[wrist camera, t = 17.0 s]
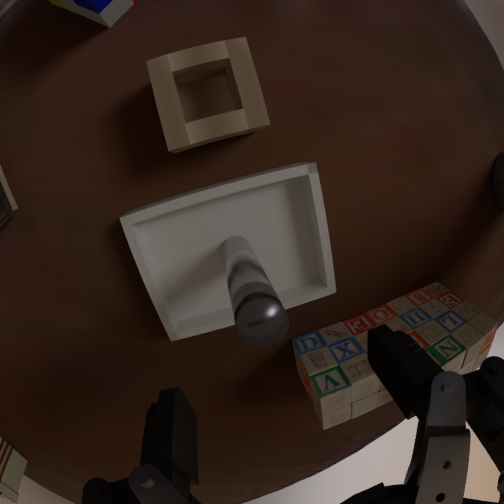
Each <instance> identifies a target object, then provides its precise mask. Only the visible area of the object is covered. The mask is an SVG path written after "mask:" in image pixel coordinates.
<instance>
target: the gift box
mask: <svg viewBox="0 0 504 504" xmlns="http://www.w3.org/2000/svg"><path fill="white" fill-rule="evenodd" d="M27 462H28V461H27V460H26V459H25V458H24V457H23V456H22V455H20V454H19V453H18V452H17V451H16V450H15V449H14V448H13V447H11V446H10V445H9V444H8V443H7V442H6V441H5V440H4V439H3V438H2V437H1V436H0V496H2V497H4V498H6V499H8V500H10V501H12V502H15V503H16V502H17V499H18V496H19V494H18V489H19V486H20V483H21V479H22V477H23V474H24V471H25V468H26V465H27Z"/></svg>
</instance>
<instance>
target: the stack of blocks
mask: <svg viewBox="0 0 504 504" xmlns="http://www.w3.org/2000/svg"><path fill="white" fill-rule="evenodd" d="M382 324H386V325H387V326H388V327H389V328H390V329H391V330H392V331H393V332H395V331H397V330H400V331H402V332H404V333H407V334H409V335H410V336H411V337H412V338H413V339H414V340H415V341H416V343H418V344H419V345H420V346H421V347H422V349H424V350H425V351H426V352H427V353H428V355H429V356H430V357H431V358H432V359H433V360H434V361H435V362H436V363H437V364H438V365H439V366H440V367H441V368H442V369H443V370H444V371H453V372H457V373H458V374H460V375H463V374H466V373H469V372H472V371H475V370H476V369H477V368H479V367H480V366H481V364H482V362H483V361H484V360H485V359H486V358H487V355H488V352H489V350H490V348H491V344H492V342H493V339H494V336H495V333H496V329H497V326H498V323H497V322H496V321H495V320H493V319H492V318H490V317H489V316H487V315H486V314H484V313H483V312H482V311H481V310H479V309H478V308H476V307H475V306H473V305H472V304H471V303H469V302H467V301H465V300H464V299H462V298H461V297H459V296H457V295H456V294H454V293H453V292H451V291H450V290H449V289H447V288H446V287H444V286H443V285H441V284H439V283H438V282H434V283H432V284H430V285H428V286H425V287H423V288H420V289H418V290H415V291H413V292H411V293H409V294H406V295H404V296H402V297H399V298H397V299H395V300H392V301H390V302H387V303H386V304H385V305H382V306H380V307H378V308H375V309H373V310H370V311H368V312H365V313H364V314H361V315H358V316H356V317H353V318H351V319H348V320H345V321H343V322H338V323H336V324H333V325H330V326H327V327H324V328H321V329H319V330H316V331H313V332H310V333H307V334H304V335H301V336H298V337H295V338H292V343H293V348H294V353H295V359H296V365H297V370H298V374H299V376H300V379H301V381H302V383H303V385H304V387H305V389H306V392H307V394H308V396H309V398H310V401H311V403H312V405H313V407H314V409H315V412H316V414H317V416H318V419H319V421H320V423H321V425H322V428H323V429H324V430H325V429H328V428H330V427H333V426H335V425H338V424H340V423H343V422H345V421H348V420H349V419H353V418H355V417H358V416H360V415H362V414H364V413H367V412H369V411H371V410H373V409H375V408H376V407H379V406H381V405H383V404H385V403H387V402H389V401H391V400H393V398H392V397H391V395H390V394H389V392H388V391H387V390H386V388H385V387H384V385H383V384H382V382H381V381H380V380H379V378H378V377H377V375H376V374H375V373H374V371H373V370H372V368H371V367H370V365H369V362H368V358H367V333H368V330H370V329H372V328H375V327H377V326H379V325H382Z"/></svg>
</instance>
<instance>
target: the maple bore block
mask: <svg viewBox="0 0 504 504" xmlns="http://www.w3.org/2000/svg"><path fill="white" fill-rule="evenodd" d="M146 62H147V66H148V71H149V75H150V79H151V84H152V88H153V92H154V96H155V101H156V105H157V109H158V113H159V117H160V121H161V124H162V128H163V132H164V136H165V140H166V143H167V147H168V151H169V152H174V153H178V152H181V151H184V150H187V149H191V148H194V147H197V146H201V145H204V144H208V143H212V142H215V141H219V140H223V139H227V138H231V137H235V136H239V135H243V134H247V133H251V132H256V131H259V130H261V129H262V128H264V127H266V126H268V125H270V121H269V118H268V114H267V110H266V106H265V103H264V99H263V95H262V92H261V88H260V84H259V81H258V77H257V74H256V70H255V67H254V64H253V60H252V57H251V54H250V50H249V47H248V44H247V40H246V37H242V38H236V39H230V40H225V41H219V42H214V43H210V44H205V45H201V46H196V47H192V48H188V49H185V50H181V51H177V52H174V53H170V54H167V55H164V56H161V57H157V58H154V59H151V60H148V61H146Z"/></svg>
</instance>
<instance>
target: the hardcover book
mask: <svg viewBox="0 0 504 504" xmlns="http://www.w3.org/2000/svg"><path fill="white" fill-rule="evenodd" d="M17 209H18V207H17V204H16V202H15V200H14V198H13V195H12V193H11V191H10V188H9V186H8V184H7V181H6V178H5V176H4V173H3V171H2V168H1V165H0V227H1V226H2V225H3V224H4V223H5V222H6V221H7V220H8V218H9V217H10V216H11V215H12V214H13V213H14V212H15V211H16V210H17Z"/></svg>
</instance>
